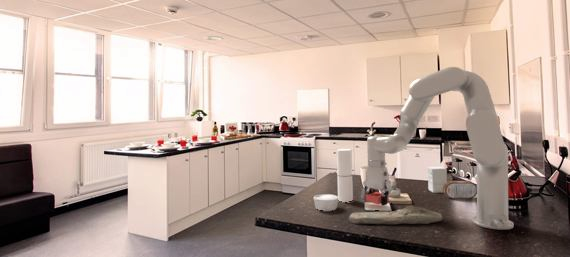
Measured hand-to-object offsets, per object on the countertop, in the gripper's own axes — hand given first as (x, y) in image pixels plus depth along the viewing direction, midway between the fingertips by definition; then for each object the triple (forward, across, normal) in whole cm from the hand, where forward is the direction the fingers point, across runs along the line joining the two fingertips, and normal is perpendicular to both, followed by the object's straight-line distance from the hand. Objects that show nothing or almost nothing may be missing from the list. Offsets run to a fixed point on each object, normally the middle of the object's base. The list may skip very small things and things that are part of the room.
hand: (377, 202), depth 140 cm
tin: (+2, -14, -42) cm, 44 cm away
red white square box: (-1, 0, 0) cm, 1 cm away
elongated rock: (+2, -17, +9) cm, 19 cm away
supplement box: (+2, +1, -47) cm, 47 cm away
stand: (+2, +4, -16) cm, 16 cm away
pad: (+2, 0, 0) cm, 2 cm away
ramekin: (+2, +13, +19) cm, 23 cm away
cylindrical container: (+2, +17, +4) cm, 18 cm away
